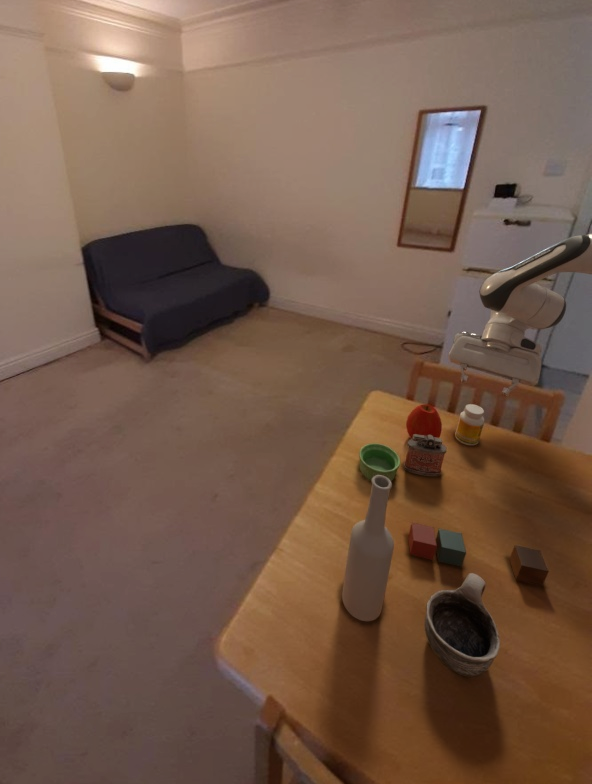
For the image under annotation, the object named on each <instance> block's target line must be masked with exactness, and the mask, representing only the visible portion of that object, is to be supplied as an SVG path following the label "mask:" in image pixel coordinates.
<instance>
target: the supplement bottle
mask: <svg viewBox="0 0 592 784" xmlns="http://www.w3.org/2000/svg"><path fill="white" fill-rule="evenodd" d="M484 414H485V410H484V408H482V407H481V406H479V405H477V404H475V403H474V404H473V403H470V404H466V405H465V407H464V409H463V411H462V412H460V414H459V417H458V421H457V426H456V429H455V433H454V436H455V439H456V440H457V441H458V442H460V443H461V444H463V445H466V446H476V445H478V444H479V441H480V438H481V435H482V431H483V428H484V424H485V417H484Z"/></svg>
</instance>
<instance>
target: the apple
mask: <svg viewBox="0 0 592 784" xmlns="http://www.w3.org/2000/svg"><path fill="white" fill-rule="evenodd" d="M405 426H406V427H405V428H406V432H407V434H408V436H409V437H410V440H411V439H412V437H413V435H414V434H417V435H424V436H427V435H432V436H433V437H436V438H440V437H441V435H442V431H443V424H442V419H441V416H440V414H439V412H438V410H437V408H435V407H434V406H433V405H431V404H428V403H427V404H426V403H425V404H419V405H417V406H416V407H414V408H413V409H412V410H411V412H410V413H409V414H408V416H407V419H406V424H405Z"/></svg>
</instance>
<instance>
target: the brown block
mask: <svg viewBox="0 0 592 784" xmlns="http://www.w3.org/2000/svg"><path fill="white" fill-rule="evenodd" d="M508 560H509V561H510V562H509V563H510V565H511V570H512V572H513V575H514V578H515V580H516V581H520V582H524V583H527V584H532V585H535V586H540V587H543V585H544V583H545V581H546V579H547V577H548V574H549V572H550V571H549V568H548V566H547V564H546V561H545V558H544V555H543V554H542V551H541V550H540V549H535V548H531V547H527V546H523V545H518V544H514V546H513V549H512V551H511V554H510V556H509V558H508Z"/></svg>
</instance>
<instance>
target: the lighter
mask: <svg viewBox="0 0 592 784" xmlns="http://www.w3.org/2000/svg"><path fill="white" fill-rule="evenodd" d="M443 442H444V441H443V438H440V437H439V438H436V437H433V436H432V435H427V436H424V435H417V434H414V435H413V437H412V439H411V438H410V439H409V440H408V441H407V449H406V456H405V460H404V462H403V469H404V470H405V471H406V472H409V473H412V474H415V475H420V476H426V477H440V476H441V474H442V466H443V463H444V458H445V454H447V450H448V449H447V446H446V445H445V444H443Z"/></svg>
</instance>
